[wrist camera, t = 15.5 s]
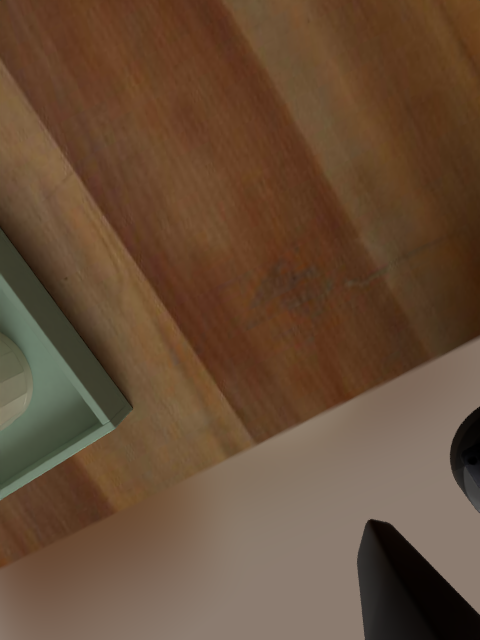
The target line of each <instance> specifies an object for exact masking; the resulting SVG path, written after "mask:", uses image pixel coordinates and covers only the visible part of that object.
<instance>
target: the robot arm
mask: <svg viewBox="0 0 480 640" xmlns="http://www.w3.org/2000/svg"><path fill="white" fill-rule="evenodd" d="M472 456H474V459H472V460H470V461H469V460H468V459H469V458H470V457H472ZM460 458H461V461H462V462H463V464H464V466H465V467H466V469H467V470H468V472H469V473H470V475H471V477H472V478H473V480H474V481H475V483H476V485H477V486H478V488H479V489H480V443H478V444H476V445H474V446H471V447H469V448H467V449H465V450H464V451H462V453H461V455H460ZM357 567H358V577H359V586H360V596H361V605H362V615H363V625H364V635H365V640H480V615H479V614H478V613H477V612H476V611H475V610H474V609H473V608H472V607H471V605H469V604H468V602H467V601H466V600H465V599H464V598H463V597H462V596H461V595H460V594H459V593H457V591H456V590H455V589H454V588H453V587H452V586H451V585H450V584H449V583H448V582H447V581H446V580H445V579H444V578H443V577H442V576H441V575H440V574H439V573H438V572H437V571H436V570H435V569H434V568H433V567H432V566H431V565H430V564H429V562H428V561H427V560H426V559H425V558H424V557H423V556H422V555H421V554H420V553H419V552H418V551H417V550H416V549H415V548H414V547H413V546H412V545H411V544H410V543H409V542H408V541H407V540H406V539H405V538H404V537H403V536H402V535H401V534H400V533H399V532H398V531H397V530H396V529H395V528H394V527H393V526H392V525H391V524H390V523H387V522H383V521H378V520H374V519H370V520H368V522H367V523H366V525H365V529H364V533H363V536H362V540H361V544H360V548H359V552H358V558H357Z"/></svg>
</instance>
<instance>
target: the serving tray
mask: <svg viewBox="0 0 480 640" xmlns="http://www.w3.org/2000/svg"><path fill="white" fill-rule="evenodd" d="M0 332H1V333H3V334H4V335H6V336H7V337H8V338H10V339H11V340H12V341H13V342H14V343H15V344H16V345H17V346H18V347H19V348H20V350H21V351H22V352H23V354H24V356H25V357H26V359H27V361H28V363H29V366H30V369H31V372H32V377H33V393H32V398H31V401H30V404H29V405H28V407H27V409H26V411H25V412H24V413H23V414H22V415H21V416H20V417H19V418H18V419H17V420H15V421H14V422H13V423H12V424H11V425H9V426H8V427H6V428H5V429H3V430H2V431H0V500H1V499H3V498H4V497H6V496H7V495H9V494H11V493H12V492H14V491H15V490H17V489H19V488H20V487H22V486H23V485H25V484H27V483H28V482H30V481H32V480H33V479H35V478H36V477H38V476H40V475H41V474H43V473H44V472H46V471H48V470H49V469H51V468H53V467H54V466H56V465H57V464H59V463H61V462H62V461H64V460H65V459H67V458H69V457H70V456H72V455H73V454H75V453H77V452H78V451H80V450H82V449H83V448H85V447H86V446H88V445H90V444H91V443H93V442H94V441H96V440H98V439H99V438H101V437H103V436H104V435H106V434H107V433H109V432H111V431H112V430H114V429H115V428H116V427H117V426H118V425H119V424H120V423H121V422H122V421H123V419H124V418H125V417H126V416H127V415H128V414H129V413H130V412H131V411H132V410H133V408H132V407H131V406H130V404H129V403H128V402H127V400H126V399H125V397H124V396H123V395H122V393H121V392H120V391H119V389H118V388H117V386H116V385H115V384H114V382H113V381H112V380H111V378H110V377H109V376H108V374H107V373H106V371H105V370H104V369H103V367H102V366H101V365H100V363H99V362H98V361H97V359H96V358H95V356H94V355H93V354H92V352H91V351H90V350H89V348H88V347H87V346H86V344H85V343H84V341H83V340H82V339H81V337H80V336H79V335H78V333H77V332H76V331H75V329H74V328H73V326H72V325H71V324H70V322H69V321H68V320H67V318H66V317H65V316H64V314H63V313H62V311H61V310H60V309H59V307H58V306H57V305H56V303H55V302H54V300H53V299H52V298H51V296H50V295H49V294H48V292H47V291H46V290H45V288H44V287H43V285H42V284H41V283H40V281H39V280H38V279H37V277H36V276H35V275H34V273H33V272H32V270H31V269H30V268H29V266H28V265H27V264H26V262H25V261H24V260H23V258H22V257H21V255H20V254H19V253H18V251H17V250H16V249H15V247H14V246H13V245H12V243H11V242H10V240H9V239H8V238H7V236H6V235H5V234H4V232H3V231H2V230H1V228H0Z"/></svg>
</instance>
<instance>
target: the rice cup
mask: <svg viewBox="0 0 480 640" xmlns="http://www.w3.org/2000/svg"><path fill="white" fill-rule="evenodd" d="M32 393H33V377H32V372H31V369H30V366H29V363H28V361H27V359H26V357H25V356H24V354H23V352H22V351H21V350H20V348H19V347H18V346H17V345H16V344H15V343H14V342H13V341H12V340H11V339H10V338H8V337H7V336H6V335H4V334H3V333H1V332H0V431H2V430H3V429H5V428H6V427H8V426H9V425H11V424H12V423H13V422H14V421H15V420H17V419H18V418H19V417H20V416H21V415H22V414H23V413H24V412H25V411H26V409H27V407H28V405H29V404H30V401H31V398H32Z"/></svg>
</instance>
